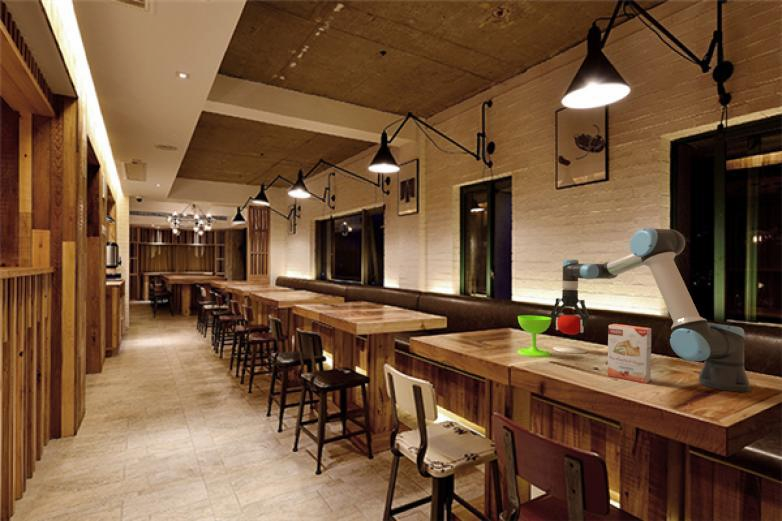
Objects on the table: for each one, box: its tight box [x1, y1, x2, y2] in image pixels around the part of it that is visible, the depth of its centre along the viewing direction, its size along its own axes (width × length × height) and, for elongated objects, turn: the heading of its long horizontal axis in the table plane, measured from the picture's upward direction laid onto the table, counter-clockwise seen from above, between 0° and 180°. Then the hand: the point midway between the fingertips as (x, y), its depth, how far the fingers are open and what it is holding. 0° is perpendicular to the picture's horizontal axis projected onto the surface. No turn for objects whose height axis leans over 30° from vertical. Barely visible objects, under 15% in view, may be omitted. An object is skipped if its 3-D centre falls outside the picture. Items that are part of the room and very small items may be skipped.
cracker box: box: [607, 323, 652, 385], centre depth 163 cm, size 14×6×21 cm, turn 43°
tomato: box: [557, 313, 582, 336], centre depth 214 cm, size 11×12×10 cm
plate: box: [552, 345, 587, 355], centre depth 214 cm, size 16×16×1 cm
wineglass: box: [517, 315, 552, 358], centre depth 206 cm, size 16×16×18 cm
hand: (569, 330), depth 214 cm, fingers closed on tomato, 11 cm apart
